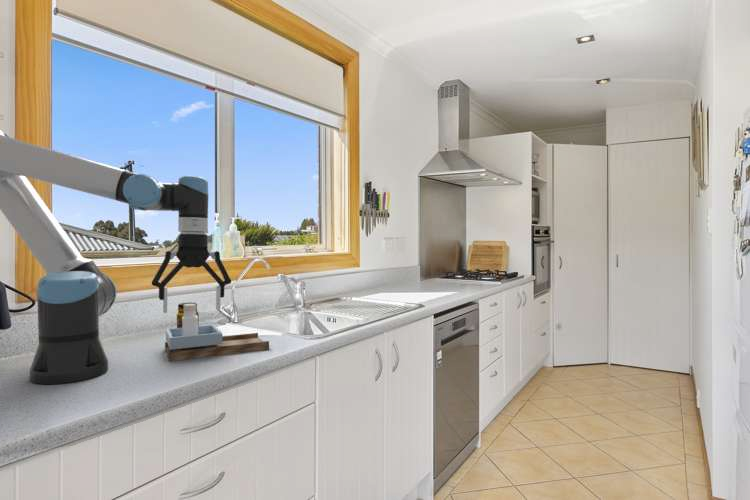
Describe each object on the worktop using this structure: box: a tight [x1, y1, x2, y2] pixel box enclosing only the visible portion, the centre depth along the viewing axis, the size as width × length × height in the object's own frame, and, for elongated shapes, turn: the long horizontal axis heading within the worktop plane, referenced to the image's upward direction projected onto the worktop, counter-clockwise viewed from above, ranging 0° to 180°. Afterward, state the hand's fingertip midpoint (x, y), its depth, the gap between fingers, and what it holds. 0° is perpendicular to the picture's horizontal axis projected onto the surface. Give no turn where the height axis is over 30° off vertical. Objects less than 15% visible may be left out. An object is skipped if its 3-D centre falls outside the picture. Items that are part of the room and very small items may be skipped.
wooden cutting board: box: [164, 332, 270, 362], centre depth 129 cm, size 26×14×2 cm, turn 119°
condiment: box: [176, 302, 200, 328], centre depth 138 cm, size 7×8×12 cm
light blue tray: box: [165, 324, 223, 351], centre depth 126 cm, size 13×13×5 cm
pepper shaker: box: [182, 303, 199, 336], centre depth 126 cm, size 4×4×10 cm
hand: (192, 310), depth 126 cm, fingers open, 13 cm apart
